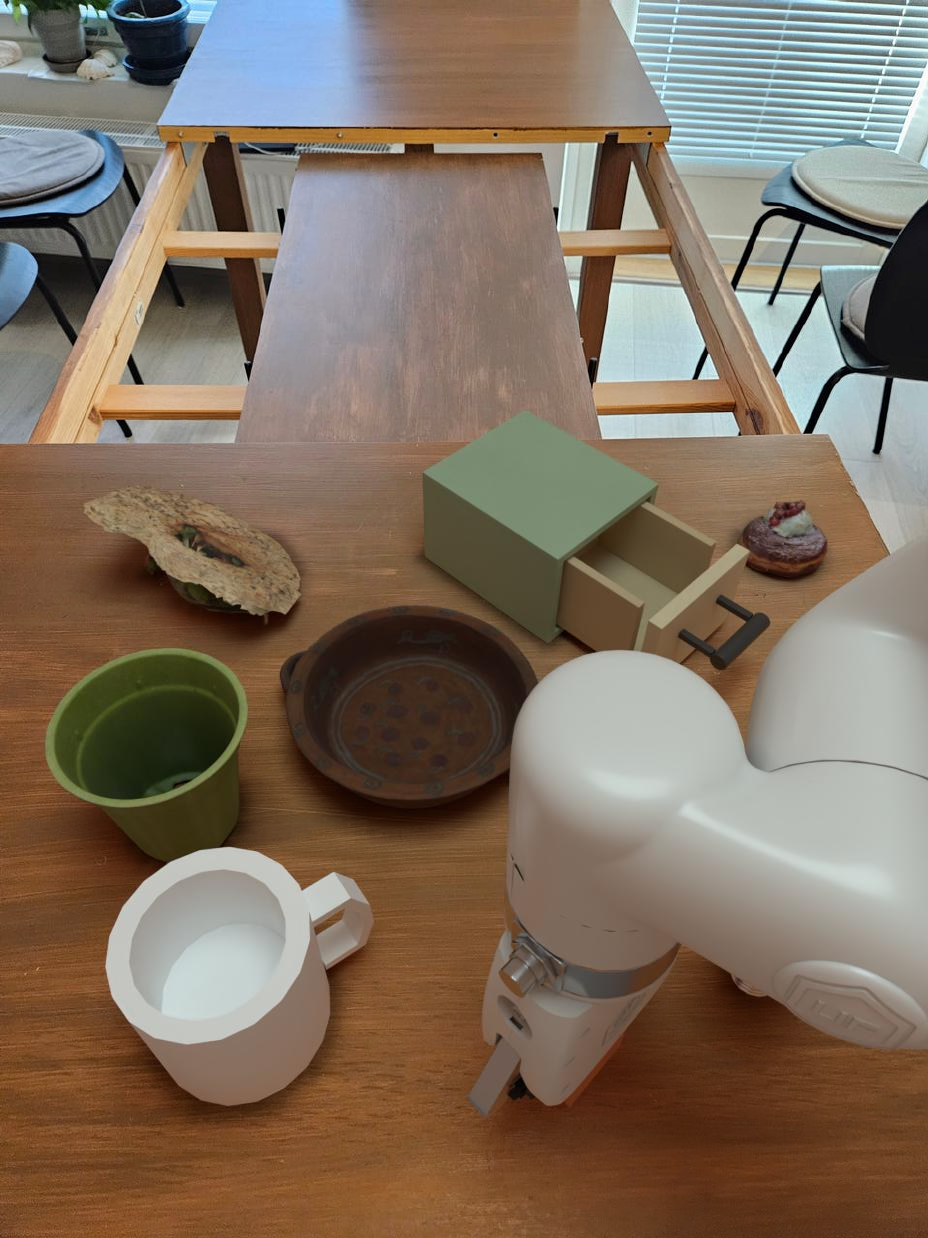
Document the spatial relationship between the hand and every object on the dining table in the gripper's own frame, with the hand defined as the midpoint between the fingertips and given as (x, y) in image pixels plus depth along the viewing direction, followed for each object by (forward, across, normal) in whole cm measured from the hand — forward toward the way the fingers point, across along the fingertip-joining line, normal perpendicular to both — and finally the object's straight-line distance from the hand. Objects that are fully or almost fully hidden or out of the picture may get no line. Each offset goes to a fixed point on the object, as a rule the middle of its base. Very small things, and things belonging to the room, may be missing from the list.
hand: (564, 1043), depth 50 cm
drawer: (+1, +30, +17) cm, 34 cm away
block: (0, 0, 0) cm, 0 cm away
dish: (+2, +10, +23) cm, 25 cm away
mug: (+2, -10, +15) cm, 18 cm away
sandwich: (+2, +9, +47) cm, 48 cm away
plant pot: (+2, -6, +29) cm, 29 cm away
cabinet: (+2, +30, +29) cm, 41 cm away
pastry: (+3, +47, +14) cm, 49 cm away
